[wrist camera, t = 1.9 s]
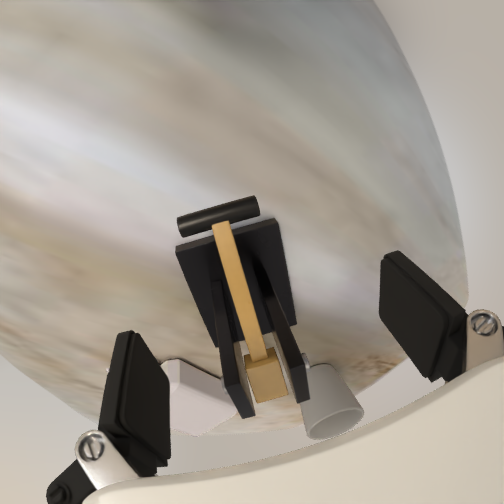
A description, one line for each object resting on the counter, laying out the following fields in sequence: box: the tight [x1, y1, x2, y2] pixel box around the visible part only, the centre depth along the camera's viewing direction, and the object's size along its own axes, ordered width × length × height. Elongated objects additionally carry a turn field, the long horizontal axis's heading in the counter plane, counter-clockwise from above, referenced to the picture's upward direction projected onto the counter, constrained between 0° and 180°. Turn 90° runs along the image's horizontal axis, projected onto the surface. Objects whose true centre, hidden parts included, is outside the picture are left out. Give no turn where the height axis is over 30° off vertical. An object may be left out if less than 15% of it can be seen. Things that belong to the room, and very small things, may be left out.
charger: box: [106, 359, 238, 437], centre depth 31 cm, size 5×9×15 cm
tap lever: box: [177, 195, 288, 403], centre depth 19 cm, size 13×5×2 cm, turn 13°
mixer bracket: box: [175, 218, 310, 419], centre depth 23 cm, size 12×9×13 cm
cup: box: [300, 364, 364, 440], centre depth 35 cm, size 8×10×8 cm
